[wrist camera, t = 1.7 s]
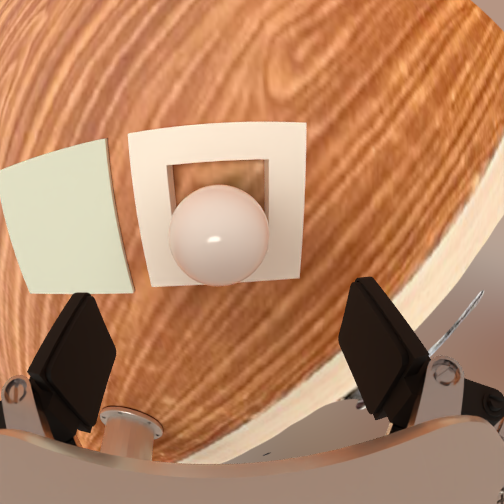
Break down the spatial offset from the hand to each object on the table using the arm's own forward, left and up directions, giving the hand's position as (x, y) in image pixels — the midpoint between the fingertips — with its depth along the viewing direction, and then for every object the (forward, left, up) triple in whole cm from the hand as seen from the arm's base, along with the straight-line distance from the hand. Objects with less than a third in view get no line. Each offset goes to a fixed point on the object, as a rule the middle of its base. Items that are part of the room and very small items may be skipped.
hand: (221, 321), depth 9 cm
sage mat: (-1, +18, -16) cm, 24 cm away
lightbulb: (0, 0, -17) cm, 17 cm away
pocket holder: (0, 0, -16) cm, 16 cm away
